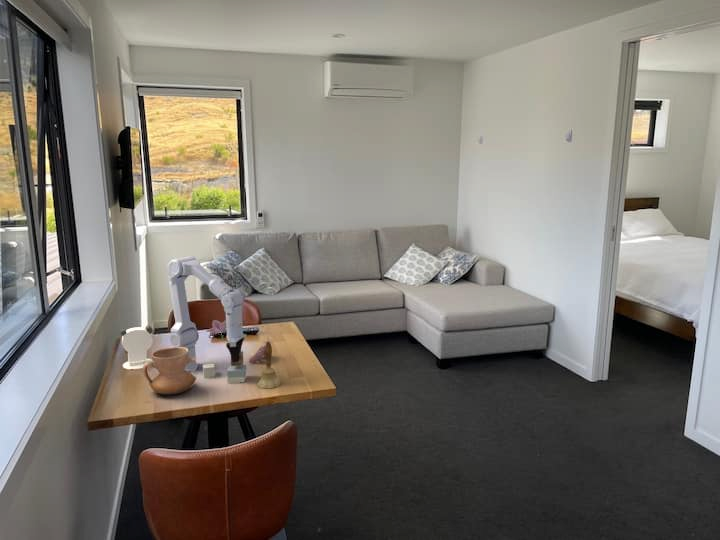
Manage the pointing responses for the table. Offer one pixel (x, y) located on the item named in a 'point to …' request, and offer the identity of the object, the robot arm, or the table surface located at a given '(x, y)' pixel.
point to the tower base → (236, 379)
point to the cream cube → (209, 370)
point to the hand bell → (268, 371)
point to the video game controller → (258, 355)
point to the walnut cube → (238, 361)
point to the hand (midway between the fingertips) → (236, 359)
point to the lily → (217, 328)
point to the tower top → (236, 371)
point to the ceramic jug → (170, 371)
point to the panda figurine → (137, 346)
